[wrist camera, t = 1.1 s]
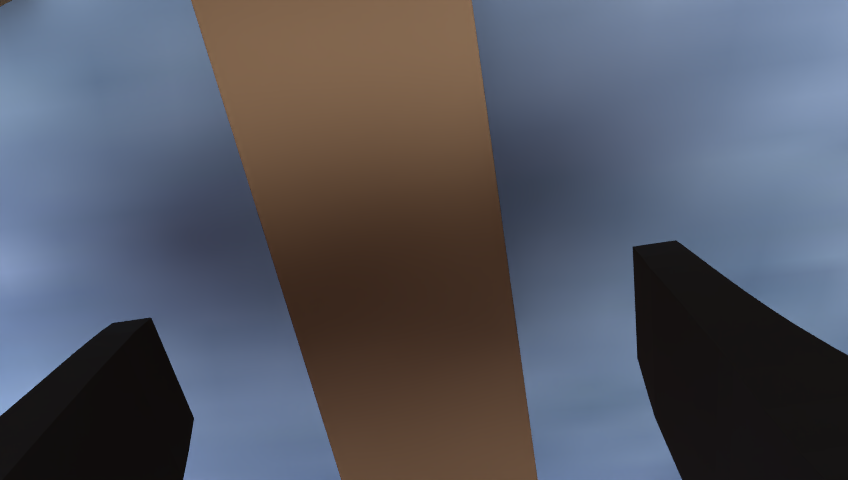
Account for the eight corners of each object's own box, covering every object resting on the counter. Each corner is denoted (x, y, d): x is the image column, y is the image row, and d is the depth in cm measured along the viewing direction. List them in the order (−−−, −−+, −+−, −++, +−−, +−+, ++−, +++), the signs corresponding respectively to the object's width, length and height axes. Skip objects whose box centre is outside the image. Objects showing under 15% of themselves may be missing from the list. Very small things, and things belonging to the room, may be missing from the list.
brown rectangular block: (512, 337, 20) (542, 515, 15) (374, 356, 20) (359, 538, 15) (425, -283, 13) (427, -321, 8) (221, -241, 13) (110, -256, 9)
